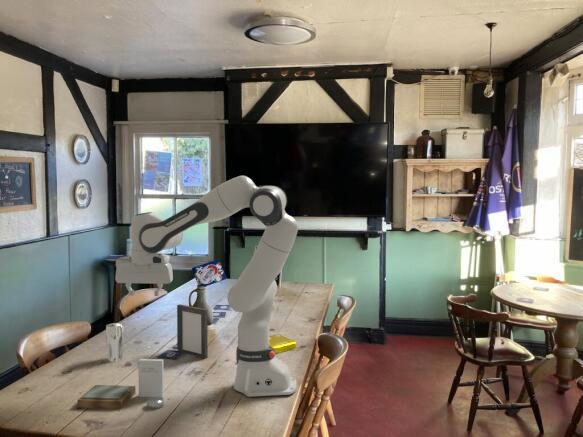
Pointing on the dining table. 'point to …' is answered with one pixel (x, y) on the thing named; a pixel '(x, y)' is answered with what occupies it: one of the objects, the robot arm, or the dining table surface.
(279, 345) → the element tile
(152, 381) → the external hard drive
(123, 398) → the mirror
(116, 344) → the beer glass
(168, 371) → the dining table surface
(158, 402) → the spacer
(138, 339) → the dining table surface
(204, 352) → the picture frame
